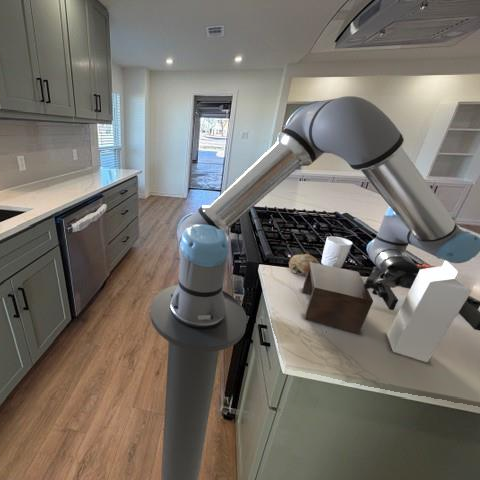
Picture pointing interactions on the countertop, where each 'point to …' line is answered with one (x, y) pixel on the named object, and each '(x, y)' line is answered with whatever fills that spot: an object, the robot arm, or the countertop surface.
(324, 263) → the white cup
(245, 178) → the robot arm
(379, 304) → the countertop surface
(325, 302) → the dark wooden crate
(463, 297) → the milk
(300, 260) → the tan rounded lump
